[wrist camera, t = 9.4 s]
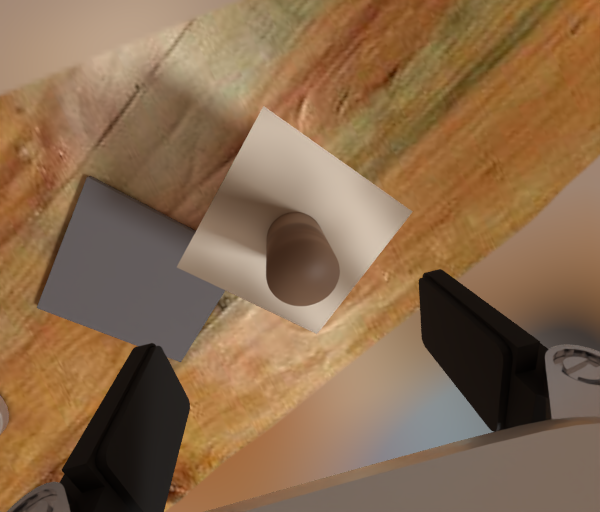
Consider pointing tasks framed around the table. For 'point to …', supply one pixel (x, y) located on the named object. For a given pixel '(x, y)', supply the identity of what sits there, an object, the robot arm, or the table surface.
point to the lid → (291, 226)
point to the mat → (128, 273)
